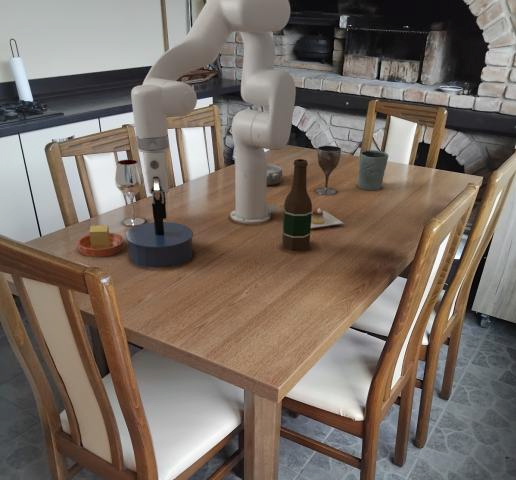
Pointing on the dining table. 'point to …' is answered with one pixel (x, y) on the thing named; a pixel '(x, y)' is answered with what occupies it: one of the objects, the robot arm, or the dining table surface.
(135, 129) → the robot arm
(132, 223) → the wineglass
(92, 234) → the cheese block
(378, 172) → the green cup
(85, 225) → the dining table surface
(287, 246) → the beer bottle
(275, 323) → the dining table surface
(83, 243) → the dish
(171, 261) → the pan
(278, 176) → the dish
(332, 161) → the wine glass
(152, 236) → the lid
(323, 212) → the dessert
